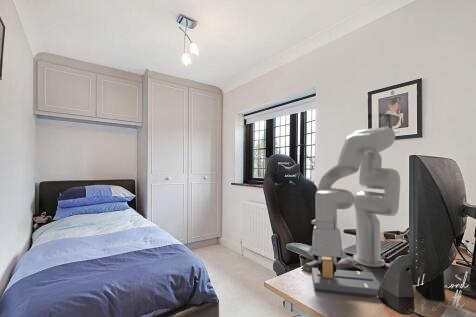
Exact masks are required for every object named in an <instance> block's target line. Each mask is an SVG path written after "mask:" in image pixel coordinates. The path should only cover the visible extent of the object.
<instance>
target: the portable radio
mask: <svg viewBox="0 0 476 317" xmlns="http://www.w3.org/2000/svg"><path fill="white" fill-rule="evenodd" d="M444 274H445V273H444V271H443V272H442V273H441V274H439V275H438V276H436V277H435V278H433V279H431V280H430V281H428V282H425V283H424V284H423V285H419V286H415V285H414V289H415V290H416V291H417V293H419V294H420V296H422V298H423V299H425V300H429V301H430V300H431V301H440V302H445V300H446V289H445V276H444Z"/></svg>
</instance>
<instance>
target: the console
mask: <svg viewBox="0 0 476 317" xmlns="http://www.w3.org/2000/svg"><path fill="white" fill-rule="evenodd" d="M311 277H312V283H313V290H314V292H316V293H317V292H318V293H327V294H335V295H346V296H353V297H354V296H355V297H362V296H363V297H364V298H371V297H377V295H378V291H379V287H380V285H381V284H380V282H379V281H378V279H377V278H376V277H375V275H374V274H373V272H369V271H367V272H366V271H358V270H343V269H336V272H335V275H333V278H324V277H323V276H322V274H320V271H318V267H311ZM363 297H362V298H363Z"/></svg>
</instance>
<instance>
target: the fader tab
mask: <svg viewBox="0 0 476 317" xmlns="http://www.w3.org/2000/svg"><path fill="white" fill-rule="evenodd" d="M321 261H322V269H323V274H322V276H323V277H324V278H333V261H332V257H325V256H322V259H321Z"/></svg>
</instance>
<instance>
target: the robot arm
mask: <svg viewBox="0 0 476 317" xmlns="http://www.w3.org/2000/svg"><path fill="white" fill-rule="evenodd" d="M395 139H396V133H395V131H394V130H393V128H391V127H389V126H382V127H374V128H365V129H364V128H363V129H359V130H355V131H354V132H353V133H352V134H349V135H348V136H346V138H345V139H344V142H343V144H342V147H341V151H340V152H339V157H338V160H337V163H336V164H335V165H334V166H332V167H331V168H330V169H329V170H328V171H326V172H325V173H324V175H323V176H322V177H321V178H320V180H319V183H318V186H317V188H316V191H315V194H314V195H315V196H314V199H315V202H314V203H315V219H313V220H311V224H312V225H314V227H313V231H312V238H311V239H312V240H311V241H312V244H311V246H310V248H309V249H308V251H307V254H308V255H309V256H310V257H312V258H313V259H314V260H315V261H316V262H317V268H318V271H320V274H323V269H322V261H321V259H322V257H331V259H332V261H333V275H335V272H336V270H337V264H338V263H339V262H340V261H341V260H344V259H345V258H347V254H346V252H345V251H344V249H343V246H342V245H343V244H342V242H343V241H342V234H341V229H340V228H339V227H338V210H348V209H350V208H352V207H353V206H354V212H355V222H356V223H355V225H356V226H355V227H356V228H355V230H356V233H355V234H356V235H355V236H356V237H355V238H356V239H355V240H356V242H355V243H356V253H355V254H353V255H352V259H353V261H354V262H356V263H357V264H360V266H361V265H362V266H366V267H371V268H380V267H384V266H385V263H386V261H385V260H384V258H382V256H381V223H380V220H379V218H378V216H377V215H379V216H385V217H394V216H396V215H397V214H398V212H399V209H400V208H399V207H400V197H401V196H400V194H401V193H400V192H401V175H400V172H398V170H396V169H394V168H388V167H387V168H386V167H385V168H384V167H382V162H383V160H382V156H381V152H383V151H385V150H386V149H389V148H390V147H391V146H392V145H393V144H394V142H395V141H396V140H395ZM358 172H359V174H358V175H359V176H358V177H359V178H358V180H359V181H358V182H359V185H360V186H361V187H362V188H365V189H371V190H382V191H384V192H378V191H377V192H376V191H369V190H367V191H366V190H364V191H362V190H361V191H358V192H357V193H355V194H354V193H352V192H351V191H350V190H347V189H342V188H335V187H334V188H332V186H333V185H334V184H335V183H336V182H338V181H339V180H341V179H343V178H346V177H349V176H350V175H354V174H356V173H358ZM381 258H382V259H381Z"/></svg>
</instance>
